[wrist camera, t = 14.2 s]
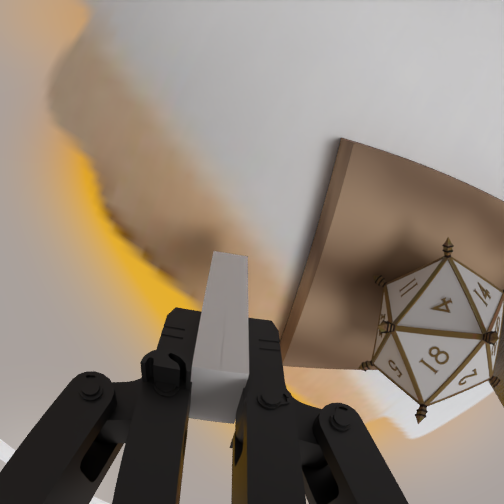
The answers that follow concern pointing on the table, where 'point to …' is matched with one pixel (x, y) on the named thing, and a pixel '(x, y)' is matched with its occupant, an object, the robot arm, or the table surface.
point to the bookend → (500, 367)
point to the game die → (438, 331)
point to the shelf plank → (382, 249)
